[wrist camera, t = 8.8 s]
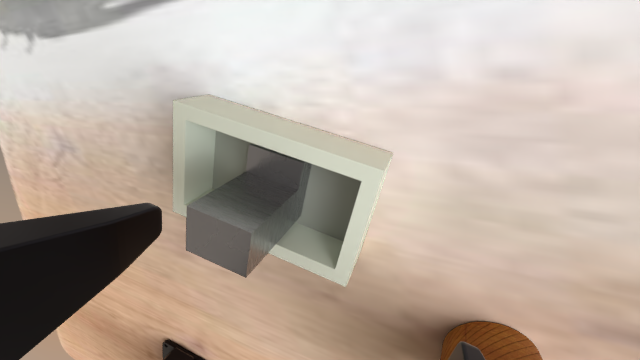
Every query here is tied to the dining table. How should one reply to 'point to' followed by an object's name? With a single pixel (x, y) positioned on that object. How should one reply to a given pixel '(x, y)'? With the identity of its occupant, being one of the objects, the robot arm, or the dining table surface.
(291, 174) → the grey l-shaped step block
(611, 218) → the dining table surface
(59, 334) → the dining table surface
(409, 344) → the dining table surface
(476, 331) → the disposable coffee cup
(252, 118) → the pale green open box
